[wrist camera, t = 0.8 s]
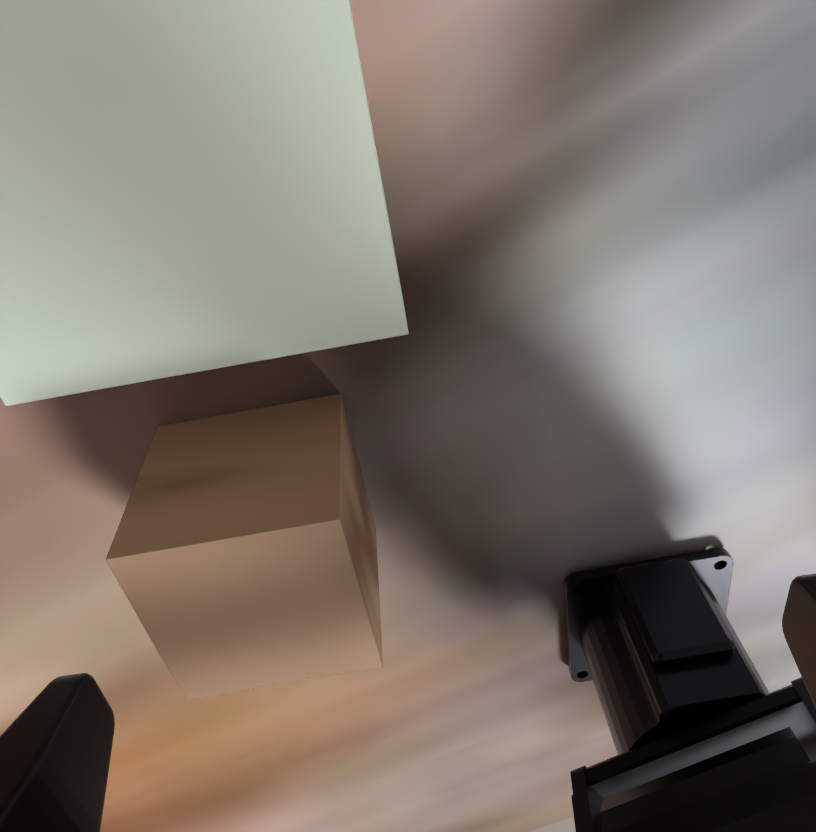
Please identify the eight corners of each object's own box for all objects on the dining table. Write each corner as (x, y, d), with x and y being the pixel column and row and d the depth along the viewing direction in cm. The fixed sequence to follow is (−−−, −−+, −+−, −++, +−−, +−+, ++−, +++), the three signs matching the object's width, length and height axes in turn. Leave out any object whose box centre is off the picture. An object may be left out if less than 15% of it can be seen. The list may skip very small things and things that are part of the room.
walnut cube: (375, 528, 26) (382, 667, 21) (216, 556, 26) (185, 700, 21) (341, 392, 23) (339, 519, 18) (158, 425, 23) (105, 559, 18)
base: (401, 288, 21) (408, 334, 19) (45, 352, 21) (5, 405, 19) (316, -187, 15) (310, -212, 12) (-182, -86, 15) (-285, -92, 13)
